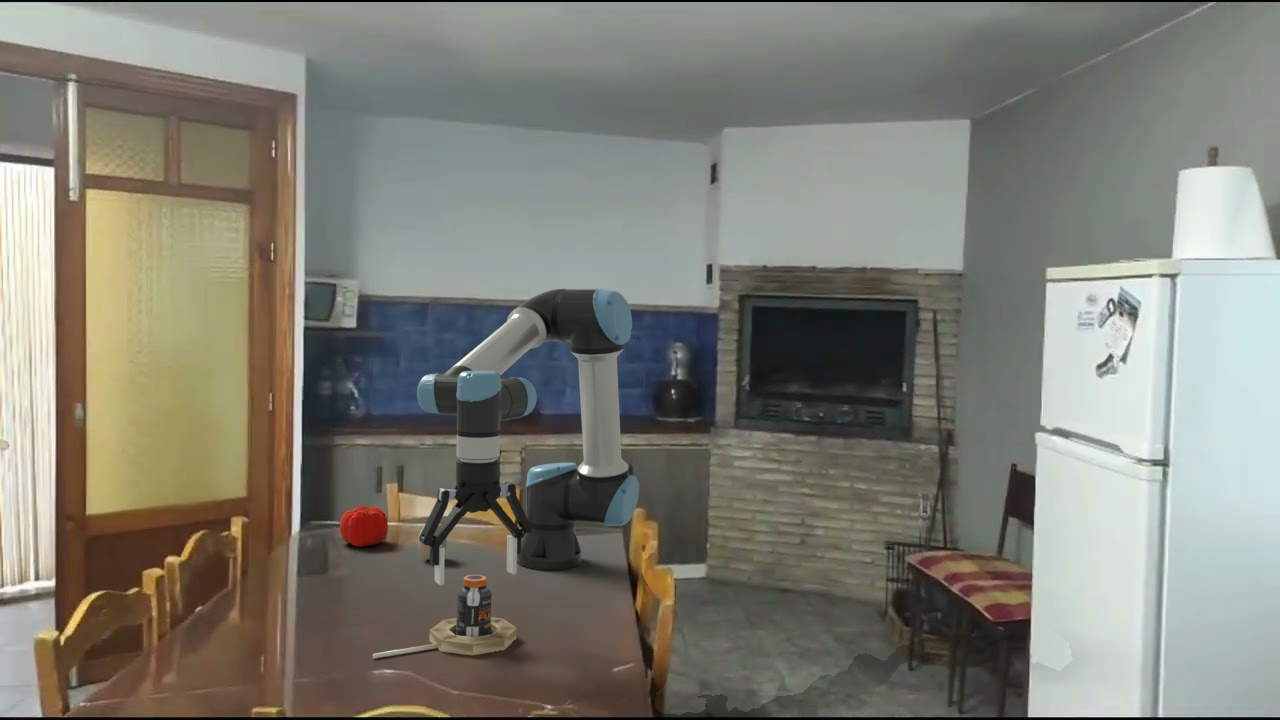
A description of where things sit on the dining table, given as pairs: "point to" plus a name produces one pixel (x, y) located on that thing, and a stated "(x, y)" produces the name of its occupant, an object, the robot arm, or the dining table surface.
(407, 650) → the white thin rod
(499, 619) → the beige flat ring
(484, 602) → the pill bottle
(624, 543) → the dining table surface
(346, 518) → the tomato
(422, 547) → the egg
